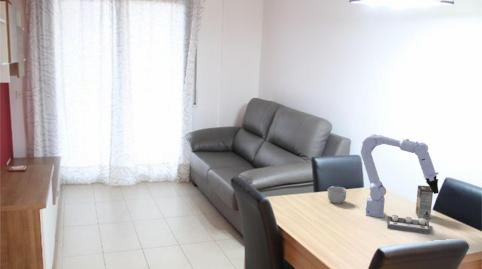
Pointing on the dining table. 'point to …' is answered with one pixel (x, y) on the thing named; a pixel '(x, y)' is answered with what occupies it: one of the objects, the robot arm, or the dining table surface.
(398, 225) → the button board
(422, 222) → the right button
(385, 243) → the dining table surface
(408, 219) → the middle button
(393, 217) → the left button
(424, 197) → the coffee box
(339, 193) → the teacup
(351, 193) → the dining table surface
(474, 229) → the dining table surface
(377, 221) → the dining table surface
